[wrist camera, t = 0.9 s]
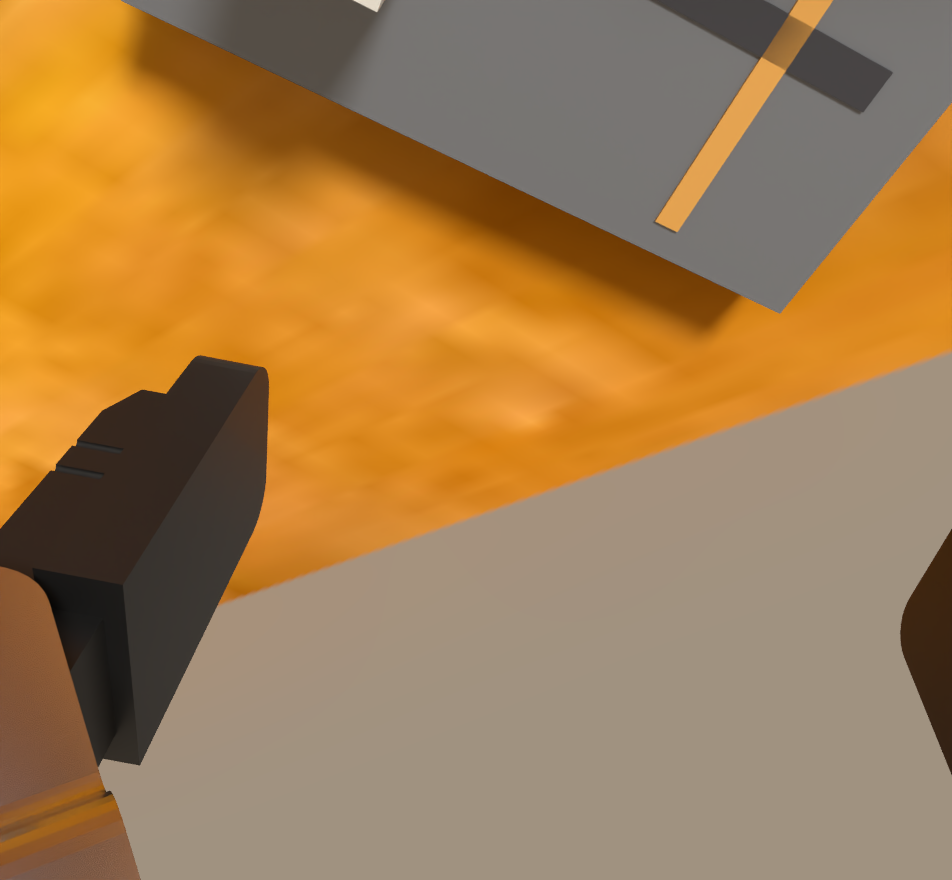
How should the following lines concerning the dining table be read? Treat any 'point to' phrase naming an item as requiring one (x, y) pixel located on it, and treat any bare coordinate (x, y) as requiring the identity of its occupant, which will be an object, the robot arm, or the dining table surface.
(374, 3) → the slider knob
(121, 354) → the dining table surface
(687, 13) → the console board
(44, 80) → the dining table surface
